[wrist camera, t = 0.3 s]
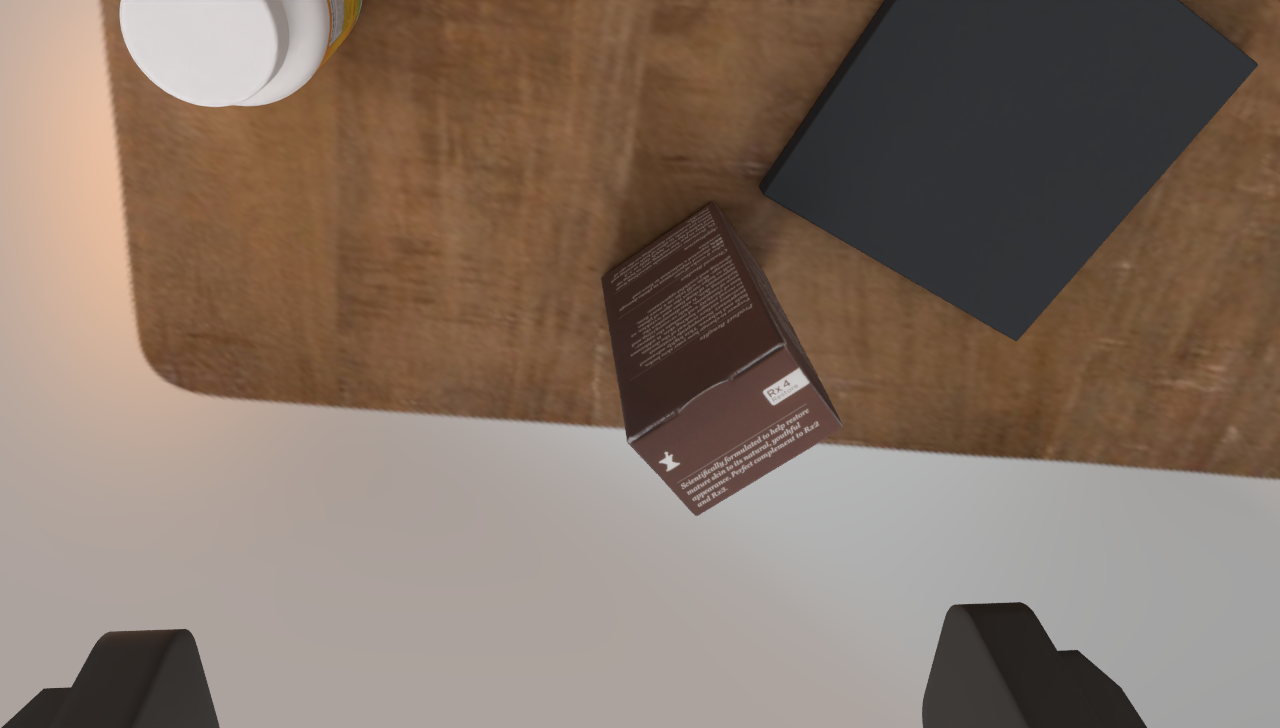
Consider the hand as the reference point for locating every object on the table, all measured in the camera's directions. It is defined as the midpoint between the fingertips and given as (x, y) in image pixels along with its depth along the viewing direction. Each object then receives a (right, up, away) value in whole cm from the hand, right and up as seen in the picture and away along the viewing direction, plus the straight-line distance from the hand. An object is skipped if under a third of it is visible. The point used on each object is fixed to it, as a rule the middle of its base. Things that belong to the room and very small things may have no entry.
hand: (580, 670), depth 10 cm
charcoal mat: (+15, +13, +28) cm, 34 cm away
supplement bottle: (-12, +17, +23) cm, 31 cm away
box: (+3, +7, +30) cm, 31 cm away
